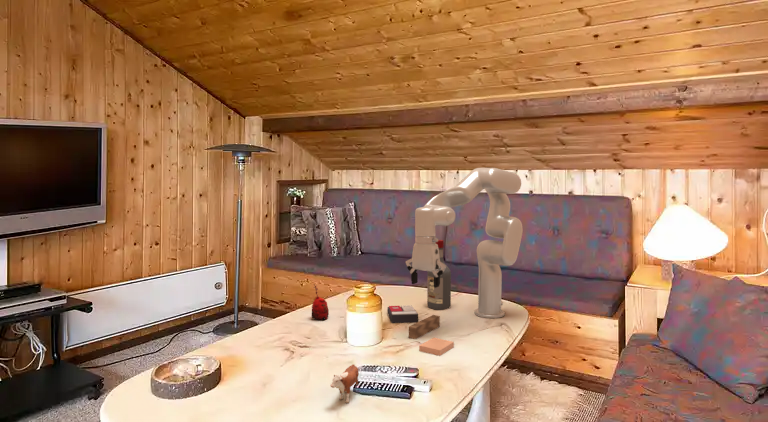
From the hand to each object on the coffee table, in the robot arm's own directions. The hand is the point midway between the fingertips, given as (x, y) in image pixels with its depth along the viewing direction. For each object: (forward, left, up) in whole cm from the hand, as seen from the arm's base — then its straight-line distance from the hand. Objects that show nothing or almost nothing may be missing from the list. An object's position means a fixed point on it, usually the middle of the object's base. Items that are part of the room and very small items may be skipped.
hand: (425, 285), depth 194 cm
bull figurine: (+60, +12, -18) cm, 64 cm away
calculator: (-10, -17, -19) cm, 27 cm away
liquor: (-33, -13, -18) cm, 40 cm away
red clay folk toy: (+11, -44, -18) cm, 49 cm away
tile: (+8, +13, -17) cm, 23 cm away
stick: (0, 0, -18) cm, 18 cm away
